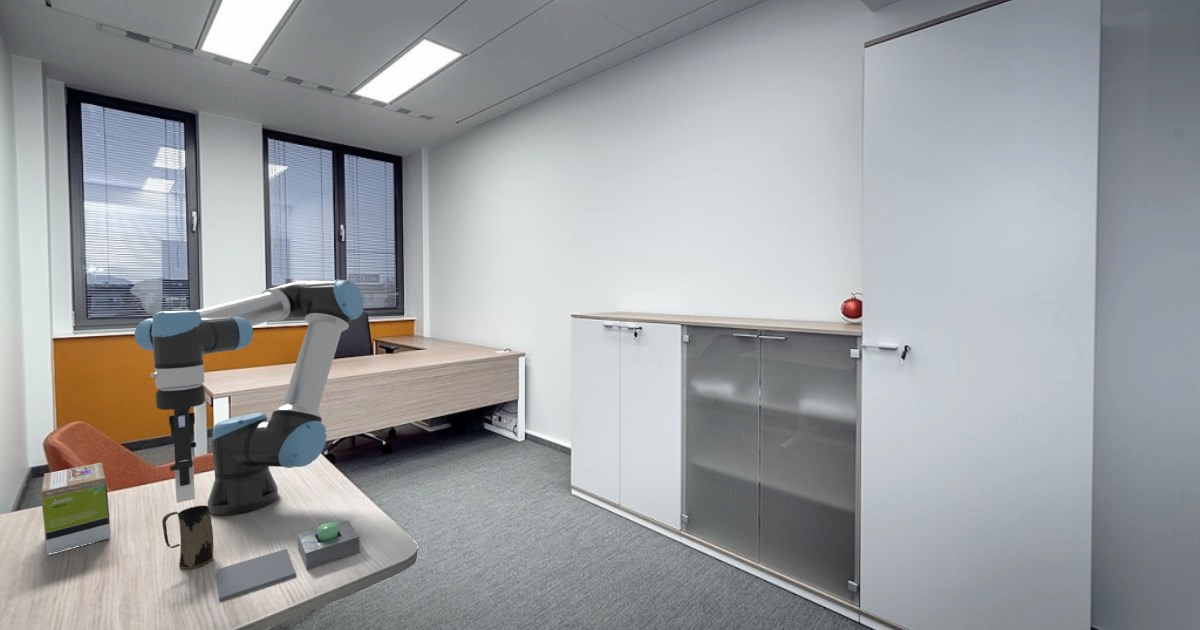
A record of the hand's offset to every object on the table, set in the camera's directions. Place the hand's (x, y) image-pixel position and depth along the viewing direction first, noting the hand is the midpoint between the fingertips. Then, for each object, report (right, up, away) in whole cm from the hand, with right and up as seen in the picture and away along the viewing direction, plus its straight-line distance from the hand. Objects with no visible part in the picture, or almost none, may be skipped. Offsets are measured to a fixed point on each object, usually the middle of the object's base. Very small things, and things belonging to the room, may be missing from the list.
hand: (185, 489), depth 101 cm
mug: (0, -16, +1) cm, 16 cm away
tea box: (-36, -16, +13) cm, 41 cm away
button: (+26, -13, +6) cm, 30 cm away
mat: (+16, -16, -2) cm, 23 cm away
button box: (+26, -15, +6) cm, 31 cm away
